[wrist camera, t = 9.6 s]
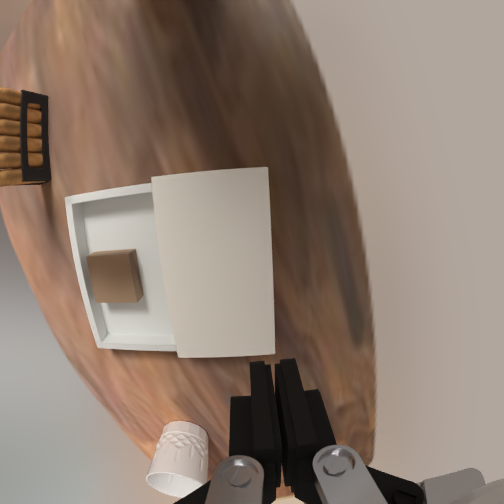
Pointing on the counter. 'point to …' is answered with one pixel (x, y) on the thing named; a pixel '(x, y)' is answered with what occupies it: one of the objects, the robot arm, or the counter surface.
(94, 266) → the walnut tile
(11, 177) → the ammunition clip
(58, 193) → the counter surface
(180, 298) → the platform
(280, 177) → the counter surface
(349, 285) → the counter surface
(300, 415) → the robot arm
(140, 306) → the box
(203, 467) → the white cup
